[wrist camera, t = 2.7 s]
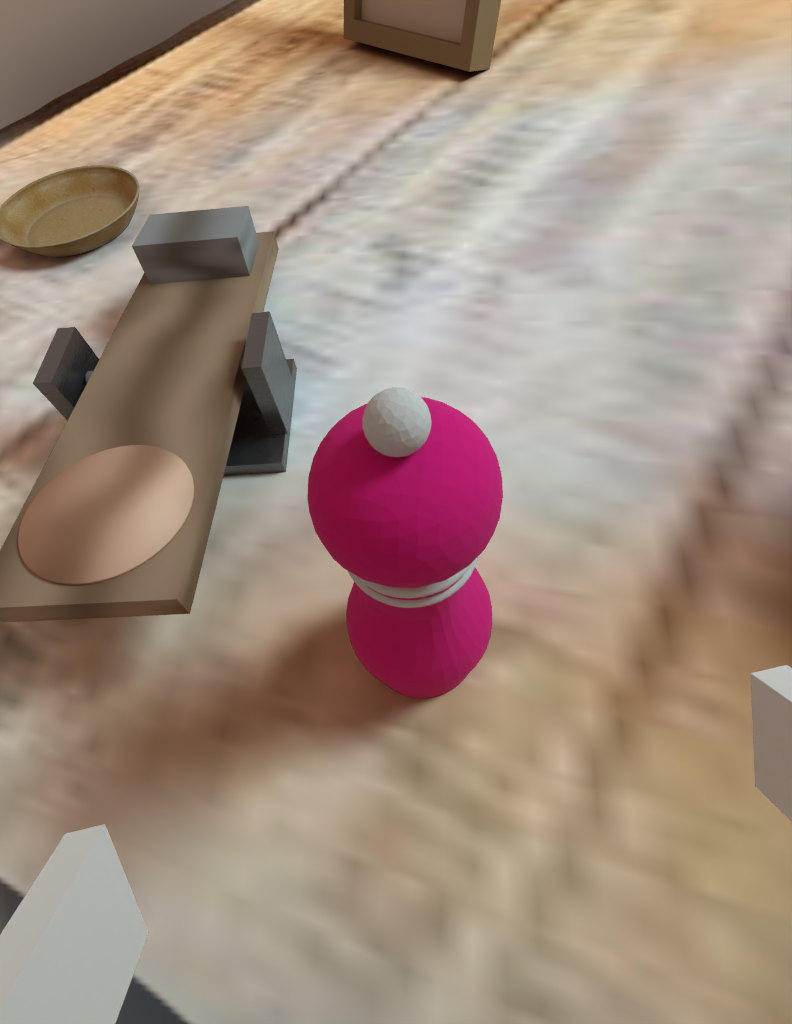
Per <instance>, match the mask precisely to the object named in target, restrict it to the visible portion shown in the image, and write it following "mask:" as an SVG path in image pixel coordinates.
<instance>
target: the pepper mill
mask: <svg viewBox="0 0 792 1024" xmlns="http://www.w3.org/2000/svg"><path fill="white" fill-rule="evenodd" d="M502 498H503V490H502V477H501V471H500V467H499V463H498V460H497V456H496V454H495V452H494V450H493V448H492V446H491V444H490V442H489V440H488V438H487V437H486V436H485V434H484V433H483V432H482V431H481V429H480V428H479V427H478V426H477V425H476V424H475V423H474V422H473V421H472V420H471V419H470V418H468V417H467V416H466V415H464V414H463V413H462V412H460V411H459V410H457V409H455V408H453V407H451V406H449V405H447V404H445V403H443V402H439V401H436V400H432V399H429V398H423V397H420V396H419V395H418V394H417V393H415V392H412V391H410V390H408V389H405V388H389V389H385V390H383V391H382V392H380V393H378V394H377V395H375V396H374V397H373V398H372V399H371V400H370V401H369V403H368V404H365V405H363V406H361V407H359V408H357V409H355V410H353V411H351V412H350V413H349V414H347V415H346V416H345V417H344V418H342V419H341V420H340V421H339V422H338V423H337V424H336V425H335V426H334V427H333V428H332V429H331V430H330V431H329V432H328V434H327V435H326V436H325V438H324V439H323V440H322V442H321V443H320V445H319V447H318V450H317V452H316V454H315V456H314V458H313V462H312V466H311V470H310V473H309V479H308V504H309V512H310V515H311V519H312V522H313V525H314V528H315V531H316V533H317V535H318V537H319V538H320V540H321V542H322V543H323V545H324V546H325V548H326V549H327V550H328V552H329V553H330V555H331V556H332V557H333V559H334V560H335V561H337V562H338V563H339V564H340V565H341V566H342V567H343V568H344V569H346V570H348V572H349V574H350V576H351V577H352V579H353V580H354V584H353V587H352V590H351V592H350V595H349V598H348V604H347V611H346V617H347V627H348V632H349V637H350V641H351V644H352V647H353V649H354V651H355V653H356V655H357V657H358V658H359V660H360V661H361V662H362V664H363V665H364V666H365V668H366V669H367V670H368V671H369V672H371V673H372V674H373V675H374V676H375V677H376V678H378V679H379V680H381V681H383V682H384V683H385V684H387V685H388V686H389V687H390V688H392V689H393V690H395V691H397V692H399V693H401V694H404V695H407V696H410V697H417V698H428V697H435V696H438V695H441V694H444V693H447V692H448V691H450V690H452V689H453V688H455V687H456V686H457V685H459V684H460V683H461V682H462V681H463V680H464V679H465V677H466V676H467V675H468V673H469V672H470V671H471V670H472V669H473V668H474V667H475V666H476V665H477V663H478V662H479V661H480V659H481V658H482V656H483V654H484V652H485V650H486V649H487V646H488V643H489V640H490V637H491V629H492V606H491V601H490V596H489V593H488V590H487V588H486V585H485V583H484V582H483V580H482V578H481V576H480V574H479V573H478V571H477V569H476V568H475V566H476V563H477V559H478V556H479V555H480V554H481V553H482V552H483V551H484V549H485V548H486V546H487V544H488V543H489V541H490V539H491V537H492V536H493V534H494V531H495V529H496V526H497V523H498V521H499V518H500V512H501V505H502Z"/></svg>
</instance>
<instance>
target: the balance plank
mask: <svg viewBox="0 0 792 1024" xmlns="http://www.w3.org/2000/svg"><path fill="white" fill-rule="evenodd" d="M132 247H133V249H134V251H135V253H136V256H137V258H138V260H139V262H140V264H141V266H142V268H143V270H144V272H145V273H144V275H143V277H142V278H141V280H140V282H139V284H138V286H137V288H136V290H135V292H134V294H133V296H132V298H131V300H130V302H129V304H128V305H127V307H126V309H125V311H124V313H123V315H122V317H121V319H120V321H119V323H118V325H117V327H116V329H115V331H114V332H113V334H112V336H111V338H110V340H109V342H108V344H107V346H106V348H105V350H104V352H103V354H102V356H101V358H100V359H99V361H98V363H97V365H96V367H95V369H94V371H88V372H87V373H86V383H87V385H86V386H85V388H84V390H83V392H82V394H81V396H80V398H79V400H78V402H77V404H76V406H75V408H74V410H73V412H72V414H71V415H70V417H69V419H68V421H67V423H66V425H65V427H64V429H63V431H62V433H61V435H60V437H59V439H58V441H57V442H56V444H55V446H54V448H53V450H52V452H51V454H50V456H49V458H48V460H47V462H46V464H45V466H44V468H43V469H42V471H41V473H40V475H39V477H38V479H37V481H36V483H35V485H34V487H33V489H32V491H31V493H30V495H29V496H28V498H27V500H26V502H25V504H24V506H23V508H22V510H21V512H20V514H19V516H18V518H17V520H16V522H15V523H14V525H13V527H12V529H11V531H10V533H9V535H8V537H7V539H6V541H5V543H4V545H3V547H2V549H1V550H0V622H18V621H40V620H61V619H83V618H105V617H126V616H148V615H169V614H190V611H191V607H192V603H193V599H194V595H195V590H196V586H197V582H198V578H199V574H200V570H201V566H202V562H203V558H204V553H205V549H206V545H207V541H208V537H209V533H210V529H211V525H212V520H213V516H214V512H215V508H216V504H217V500H218V496H219V492H220V488H221V483H222V479H223V475H224V471H225V467H226V463H227V459H228V455H229V450H230V446H231V442H232V438H233V434H234V430H235V426H236V422H237V418H238V413H239V409H240V405H241V401H242V397H243V393H244V389H245V385H246V380H247V379H246V377H245V375H244V372H243V370H242V364H243V358H244V353H245V347H246V342H247V336H248V331H249V325H250V320H251V314H252V313H261V312H263V311H264V306H265V302H266V298H267V294H268V290H269V286H270V282H271V278H272V273H273V269H274V265H275V261H276V257H277V253H278V245H277V241H276V238H275V234H274V232H263V233H256V231H255V228H254V224H253V221H252V217H251V214H250V210H249V207H248V206H243V207H232V208H221V209H210V210H199V211H188V212H177V213H166V214H155V215H150V216H149V218H148V219H147V221H146V223H145V224H144V226H143V228H142V230H141V231H140V233H139V235H138V237H137V238H136V240H135V242H134V244H133V245H132Z"/></svg>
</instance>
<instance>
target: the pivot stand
mask: <svg viewBox="0 0 792 1024" xmlns="http://www.w3.org/2000/svg"><path fill="white" fill-rule="evenodd" d="M98 361H99V359H98V357H97V356H96V355H95V353H94V352H93V351H92V349H91V348H90V346H89V345H88V344H87V342H86V341H85V340H84V338H83V337H82V336H81V334H80V333H79V332H78V330H77V329H76V328H75V327H70V328H58V329H57V331H56V334H55V336H54V338H53V340H52V342H51V345H50V347H49V349H48V351H47V353H46V356H45V358H44V360H43V362H42V364H41V367H40V369H39V371H38V373H37V375H36V378H35V380H34V382H33V384H34V385H35V386H36V387H37V388H38V389H39V391H40V392H41V393H42V394H43V395H44V396H45V397H46V398H47V399H48V400H49V401H50V402H51V403H52V404H53V405H54V407H55V408H56V409H57V410H58V411H59V412H60V413H61V414H62V415H63V416H64V417H65V418H66V419H67V420H68V419H69V417H70V415H71V414H72V412H73V410H74V408H75V406H76V404H77V402H78V400H79V398H80V396H81V394H82V392H83V390H84V388H85V386H86V385H87V383H86V373H87V372H88V371H94V369H95V367H96V365H97V363H98ZM242 370H243V372H244V375H245V377H246V379H247V380H246V385H245V389H244V393H243V397H242V401H241V405H240V409H239V413H238V418H237V422H236V426H235V430H234V434H233V438H232V442H231V446H230V450H229V455H228V459H227V463H226V467H225V471H224V475H232V474H249V473H265V472H281V471H286V464H287V454H288V445H289V436H290V426H291V417H292V408H293V398H294V389H295V379H296V370H297V368H296V365H295V362H294V359H288V360H286V359H285V356H284V353H283V350H282V347H281V344H280V341H279V338H278V335H277V332H276V329H275V326H274V323H273V320H272V317H271V314H270V312H261V313H252V314H251V320H250V325H249V331H248V336H247V342H246V347H245V353H244V358H243V364H242Z"/></svg>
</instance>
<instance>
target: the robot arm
mask: <svg viewBox="0 0 792 1024" xmlns="http://www.w3.org/2000/svg"><path fill="white" fill-rule="evenodd" d="M751 690H752V717H753V743H754V770H755V786H756V787H757V788H758V789H759V790H760V791H761V792H762V793H763V794H764V795H765V796H766V797H767V798H768V799H769V800H770V801H771V802H772V803H773V804H775V805H776V806H777V807H778V808H779V809H780V810H781V811H782V812H783V813H784V814H785V815H786V816H787V817H788V818H789V819H790V820H791V821H792V668H791V667H789V666H788V665H784V666H780V667H776V668H771V669H767V670H763V671H759V672H754V673H751ZM148 933H149V932H148V929H147V927H146V924H145V922H144V919H143V917H142V915H141V912H140V910H139V907H138V905H137V902H136V900H135V897H134V895H133V892H132V890H131V887H130V885H129V882H128V880H127V877H126V875H125V873H124V870H123V868H122V865H121V863H120V860H119V858H118V855H117V853H116V850H115V848H114V845H113V843H112V840H111V838H110V835H109V833H108V831H107V828H106V826H105V824H103V825H99V826H95V827H91V828H86V829H82V830H78V831H73V832H69V833H65V835H64V836H63V838H62V839H61V841H60V842H59V844H58V845H57V847H56V849H55V850H54V852H53V853H52V855H51V856H50V858H49V860H48V861H47V863H46V864H45V866H44V867H43V869H42V870H41V872H40V874H39V875H38V877H37V878H36V880H35V881H34V883H33V885H32V886H31V888H30V889H29V891H28V892H27V894H26V896H25V897H24V899H23V900H22V902H21V904H20V905H19V906H18V908H17V910H16V911H15V913H14V914H13V916H12V918H11V919H10V921H9V922H8V924H7V925H6V927H5V928H4V930H3V932H2V933H1V935H0V1024H115V1023H116V1020H117V1017H118V1015H119V1012H120V1009H121V1007H122V1004H123V1001H124V999H125V996H126V993H127V990H128V988H129V985H130V982H131V980H132V977H133V974H134V971H135V969H136V966H137V963H138V961H139V958H140V955H141V952H142V950H143V947H144V944H145V942H146V939H147V936H148Z"/></svg>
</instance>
